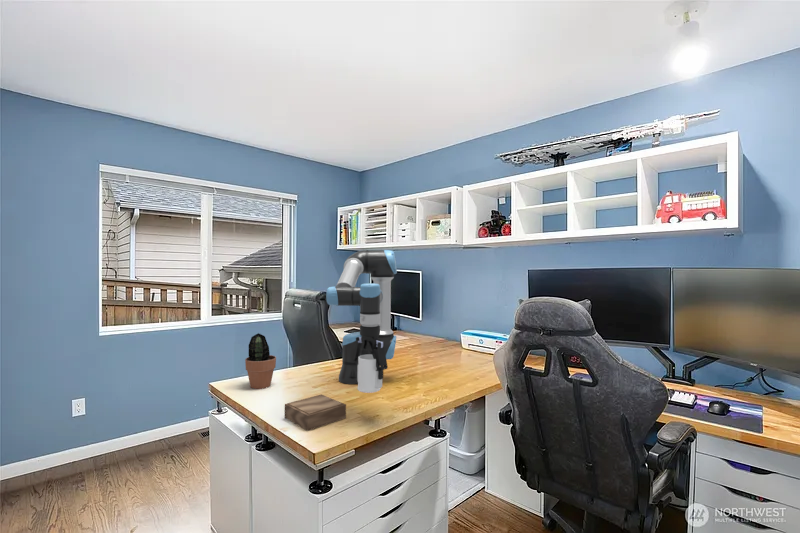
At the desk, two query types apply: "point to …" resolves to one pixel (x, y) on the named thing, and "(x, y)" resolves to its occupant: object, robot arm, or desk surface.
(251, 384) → the potted plant
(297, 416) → the tray
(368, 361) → the mug
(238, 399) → the desk surface
